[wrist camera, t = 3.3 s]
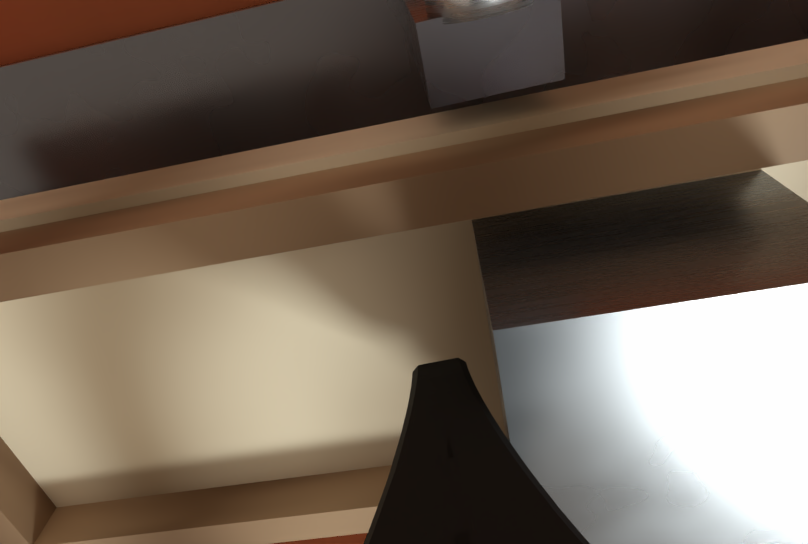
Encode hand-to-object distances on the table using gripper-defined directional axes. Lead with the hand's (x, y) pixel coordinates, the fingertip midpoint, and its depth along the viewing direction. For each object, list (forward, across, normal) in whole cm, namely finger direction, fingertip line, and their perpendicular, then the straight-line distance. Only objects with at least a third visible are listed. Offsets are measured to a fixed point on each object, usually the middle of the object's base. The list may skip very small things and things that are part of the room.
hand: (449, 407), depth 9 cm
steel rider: (+1, -3, 0) cm, 3 cm away
